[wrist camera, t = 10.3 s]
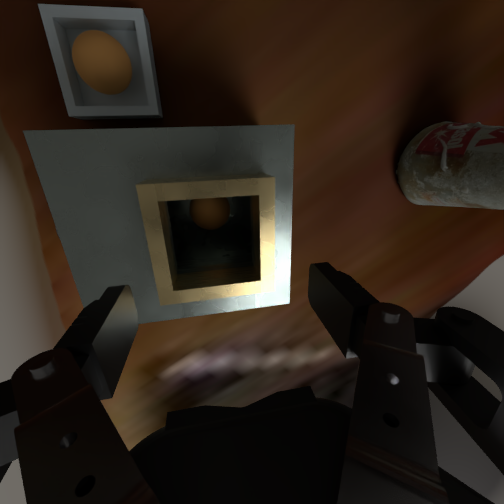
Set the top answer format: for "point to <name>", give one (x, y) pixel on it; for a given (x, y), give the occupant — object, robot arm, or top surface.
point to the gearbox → (172, 214)
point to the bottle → (454, 166)
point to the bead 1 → (102, 62)
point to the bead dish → (133, 41)
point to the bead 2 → (210, 212)
